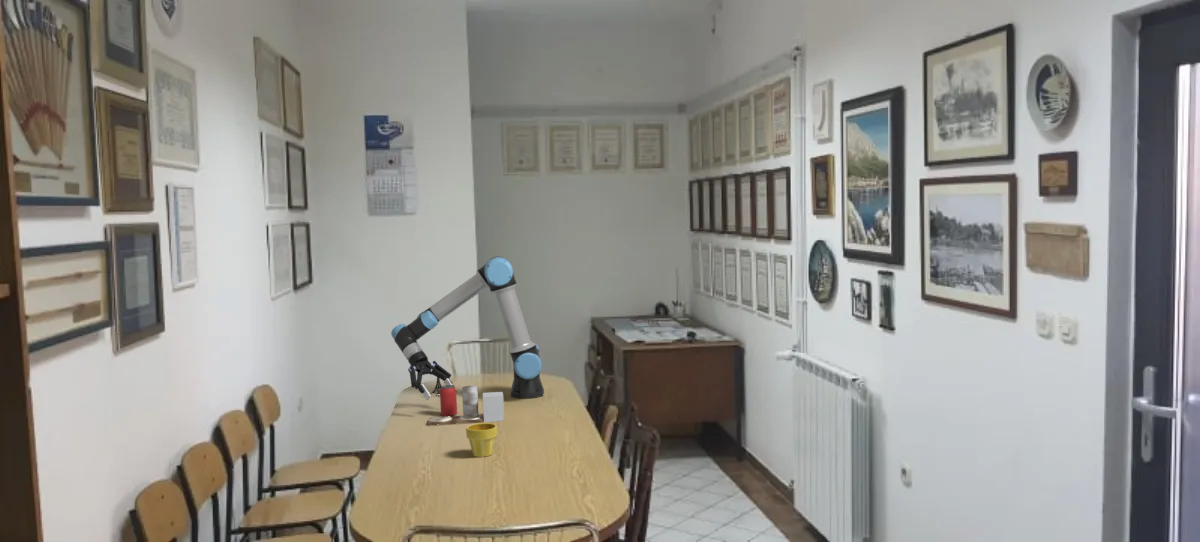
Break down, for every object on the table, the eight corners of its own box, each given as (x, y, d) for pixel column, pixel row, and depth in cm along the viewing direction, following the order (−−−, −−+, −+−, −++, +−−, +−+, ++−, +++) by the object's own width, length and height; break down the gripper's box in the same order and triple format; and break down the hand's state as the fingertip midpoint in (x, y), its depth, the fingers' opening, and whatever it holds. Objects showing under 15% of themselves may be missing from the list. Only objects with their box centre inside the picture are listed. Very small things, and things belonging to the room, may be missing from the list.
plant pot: (469, 460, 288) (468, 431, 287) (465, 452, 298) (464, 424, 297) (500, 457, 290) (498, 428, 290) (495, 449, 300) (494, 421, 300)
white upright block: (503, 416, 350) (502, 391, 349) (504, 420, 342) (503, 395, 341) (483, 417, 348) (482, 392, 348) (483, 422, 341) (482, 397, 340)
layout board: (482, 417, 349) (481, 384, 348) (482, 422, 340) (481, 388, 339) (429, 420, 346) (428, 387, 345) (428, 425, 337) (426, 392, 336)
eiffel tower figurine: (420, 398, 391) (419, 369, 391) (422, 394, 401) (421, 365, 401) (454, 396, 393) (453, 367, 392) (455, 392, 403) (454, 364, 402)
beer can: (459, 413, 357) (457, 384, 356) (454, 417, 351) (453, 387, 350) (443, 413, 358) (442, 384, 357) (438, 417, 351) (437, 388, 351)
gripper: (434, 357, 375) (459, 395, 367) (388, 366, 355) (414, 406, 347) (441, 346, 371) (467, 384, 363) (396, 354, 351) (422, 395, 343)
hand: (441, 395), depth 355 cm, fingers open, 13 cm apart
